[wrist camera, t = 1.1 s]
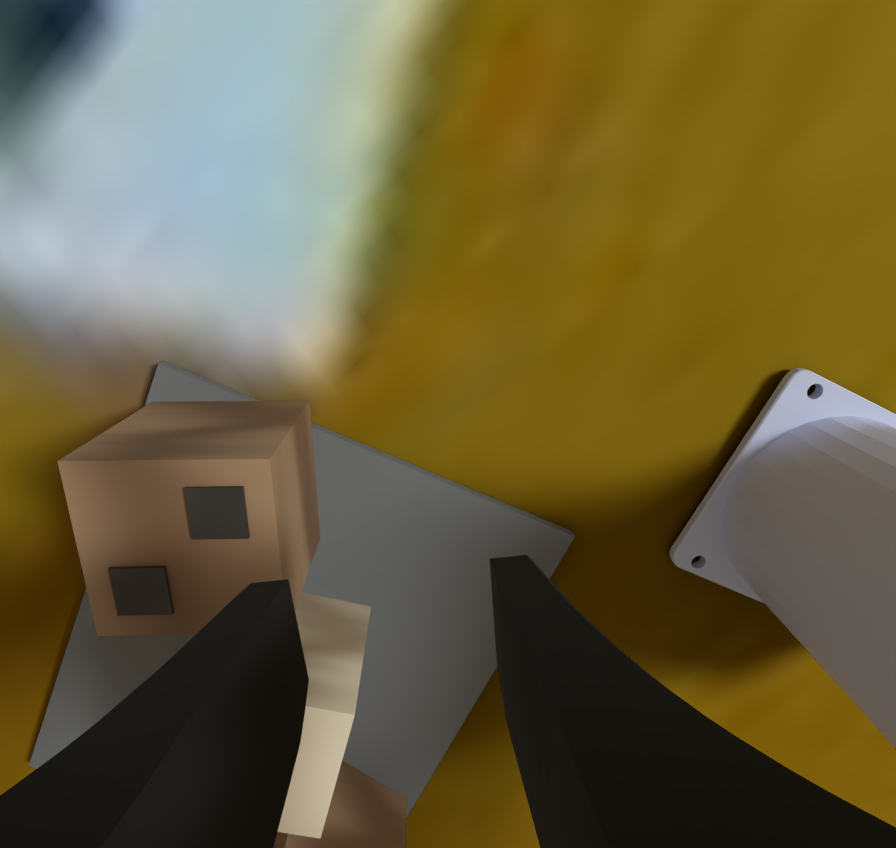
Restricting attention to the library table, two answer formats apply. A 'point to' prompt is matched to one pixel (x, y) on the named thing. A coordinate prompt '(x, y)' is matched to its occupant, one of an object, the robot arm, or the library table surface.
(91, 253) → the library table surface
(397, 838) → the pip block one
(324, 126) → the library table surface
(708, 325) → the library table surface
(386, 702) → the felt mat
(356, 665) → the plain block
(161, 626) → the pip block two
